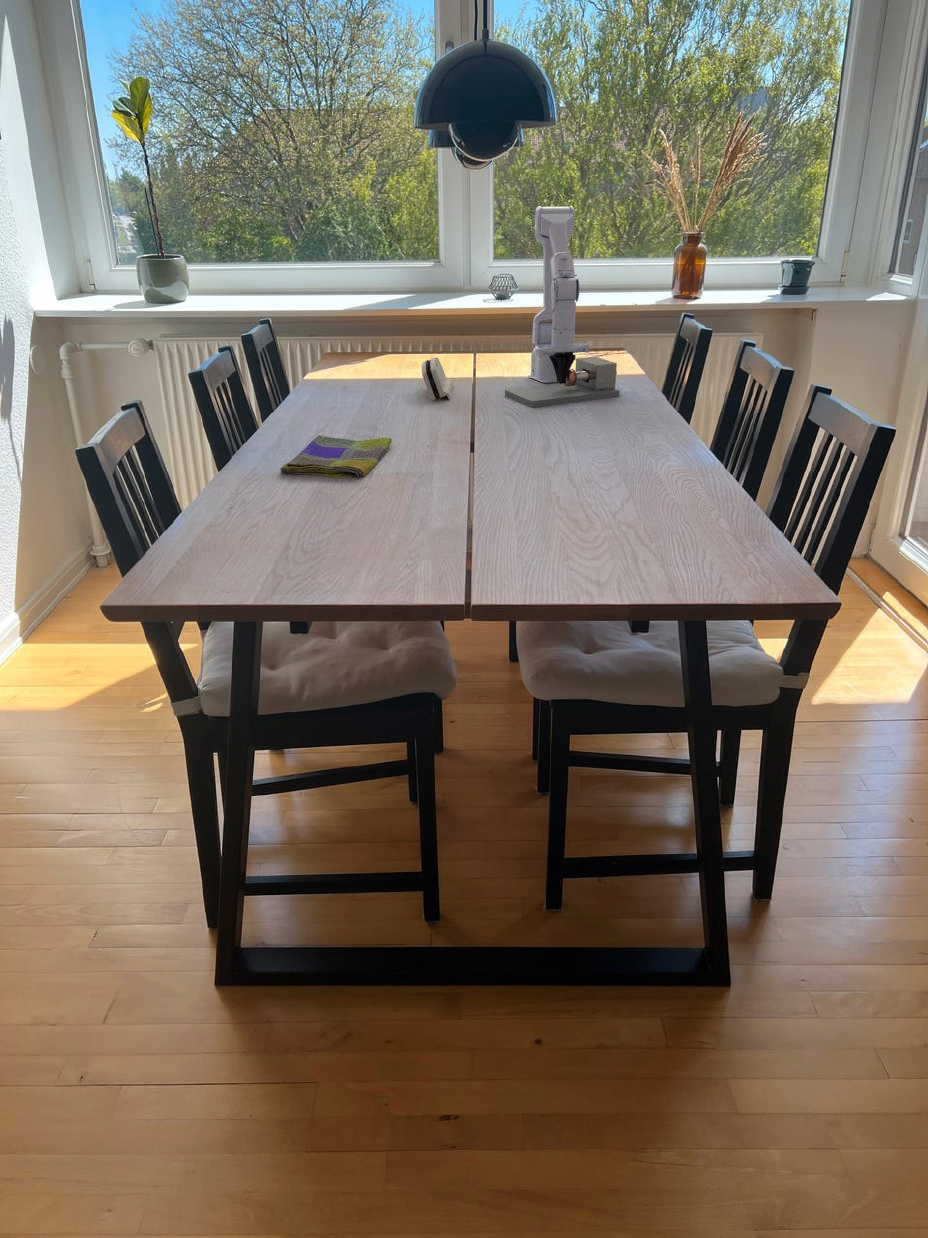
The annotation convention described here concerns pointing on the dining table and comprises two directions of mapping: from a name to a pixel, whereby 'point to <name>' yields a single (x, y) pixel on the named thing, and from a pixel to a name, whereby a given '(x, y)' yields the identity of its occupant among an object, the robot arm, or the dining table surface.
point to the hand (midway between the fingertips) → (561, 382)
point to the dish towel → (338, 457)
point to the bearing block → (597, 373)
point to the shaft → (576, 377)
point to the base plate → (556, 394)
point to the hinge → (436, 379)
